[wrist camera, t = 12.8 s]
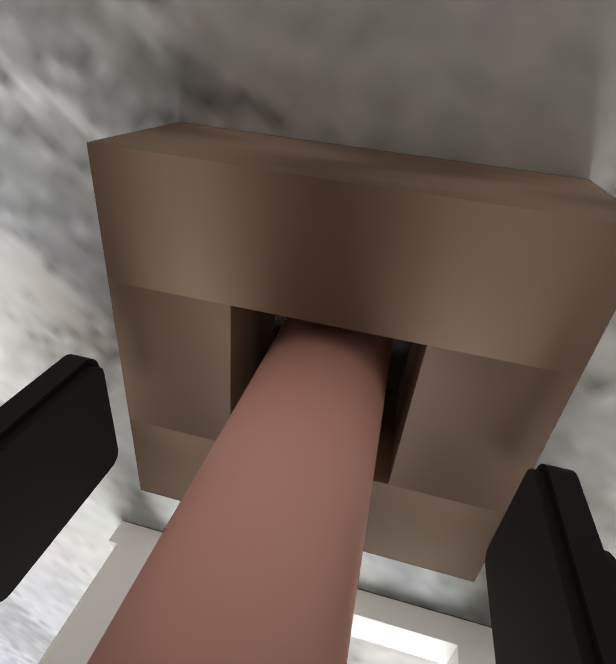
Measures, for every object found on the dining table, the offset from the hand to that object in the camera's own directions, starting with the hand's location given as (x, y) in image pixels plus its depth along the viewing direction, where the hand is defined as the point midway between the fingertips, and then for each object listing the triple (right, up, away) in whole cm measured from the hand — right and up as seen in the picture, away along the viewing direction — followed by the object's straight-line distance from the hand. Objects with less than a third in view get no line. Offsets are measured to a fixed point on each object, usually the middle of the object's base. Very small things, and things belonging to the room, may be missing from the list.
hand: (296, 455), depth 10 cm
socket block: (+1, +3, +5) cm, 6 cm away
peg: (+1, +3, +5) cm, 6 cm away
